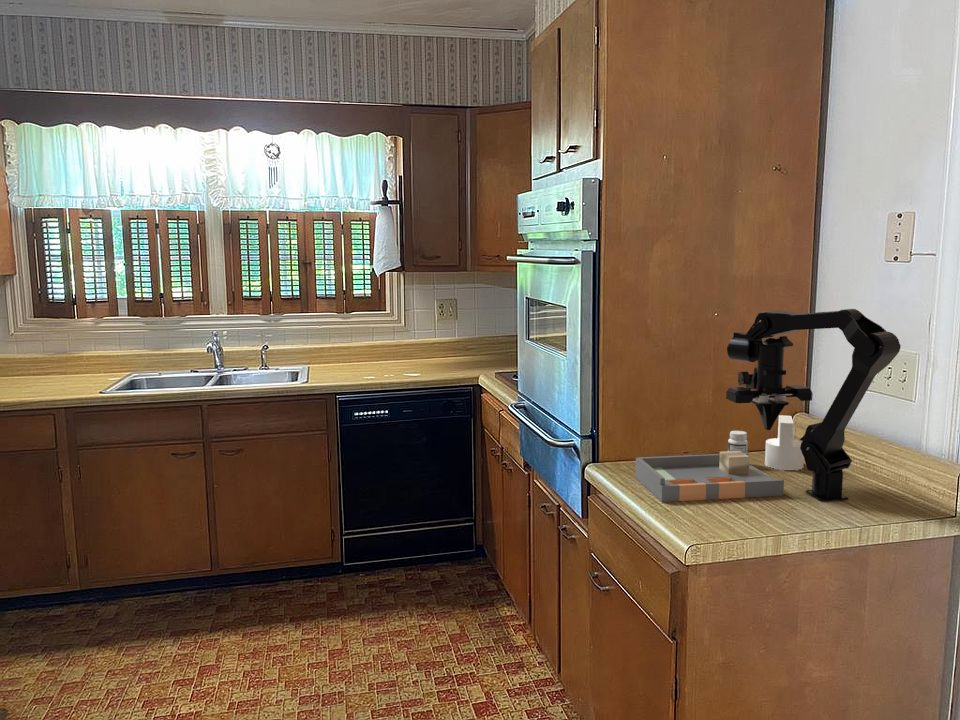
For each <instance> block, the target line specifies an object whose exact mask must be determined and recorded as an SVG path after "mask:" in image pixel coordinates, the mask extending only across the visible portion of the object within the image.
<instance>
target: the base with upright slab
mask: <svg viewBox="0 0 960 720" xmlns="http://www.w3.org/2000/svg"><path fill="white" fill-rule="evenodd" d="M792 417H793V416H791V415H785V414H784V415H783V414H782V415H780V414H779V415H778V425H777V438H776V437H774V438H768V439H766V440H765V454H764V455H765V460H764V465H765V467H767V466H768V467H767V468H769V467H771V468H770V469H772V468H774V469H773V470H777V469H779V470H778V471H784V470H796V471H800V470H799V469H801V470H803V469H804V462H805V459H804V456H803V454H802V451H801V450H800V445H801V443H802V441H801V440H798V439H794V425H795V424H794V421H793V418H792ZM802 468H803V469H802Z"/></svg>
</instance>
